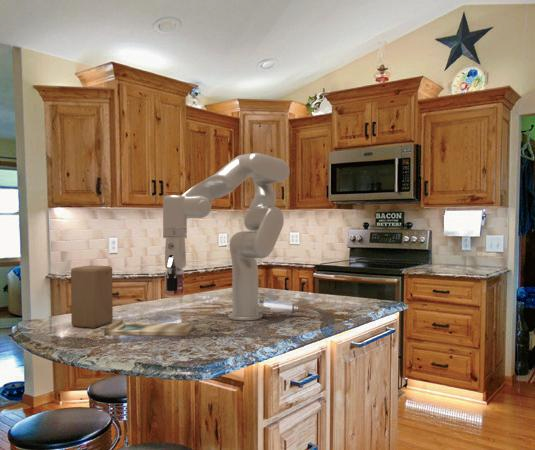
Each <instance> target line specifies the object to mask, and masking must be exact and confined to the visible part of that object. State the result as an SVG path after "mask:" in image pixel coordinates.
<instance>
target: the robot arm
mask: <svg viewBox="0 0 535 450" xmlns="http://www.w3.org/2000/svg"><path fill="white" fill-rule="evenodd" d="M290 172H291V169H290V166H289V164H288V162H287V161H285V160H284V159H282V158H278V157H276V156H275V157H274V156H272V155H271V156H270V155H268V154H263V153H259V152H252V153H246V154H240V155H237V156H236V157H234V158H233V159H232V160H230V161H229V162H228V163H227V164H225V165H224V166H223V167H222V168H220V169H219V170H218V171H217V172H215V173H214V174H213V175H211V176H208V177H207V178H206V179H204V180H202V181H200V182H198V183H197V184H195V185H193V186H192V187H191V188H189V189H188V190H187V191H185V192H184V193H183V194H180V195H179V194H177V195H176V194H169V195H165V196H164V197H163V201H162V214H163V215H162V239H165V245H164V246H165V247H164V248H165V249H164V266H165V269H166V270H168V271H167V291H177V287H178V278H176V277H177V268H178V269H182V270H183V269H184V268H186V266H187V257H186V256H187V255H186V254H187V253H186V252H187V251H186V240H185V239H187V238H188V237H187V236H188V235H187V232H188V230H187V229H188V228H187V227H188V226H187V225H188V224H187V223H188V221H187V220H188V219H203V218H205V217H207V216H208V215H209V214H210V213H211V212H212V203H211V201H213V200H216V199H219V198H222V197H225V196H227V195H229V194H231V193H232V192H233V191H234V190H236V188H238V187H239V186H240V185H241V184H242V183H244V182H245V181H246V180H247V179H249V178H251V180H252V183H253V186H254V189H255V192H254V193H255V194H254V197H253V199H252V201H251V203H250V206H249V207H248V209H247V211H246V214H245V216H244V220H243V224H244V227H245V228H246V230H245V231H239V232H238V231H237V232H236V233H234V234H232V236H231V238H230V240H229V247H228V248H229V252H230V259H231V266H232V268H231V269H232V270H231V271H232V273H231V274H232V275H231V276H232V282H231V283H232V287H231V288H232V291H231V292H232V312H230V313H228V315H227V317H228V319H230V320H233V321H240V322H241V321H243V322H244V321H255V320H260V319H262V318H263V313H264V314H271V307H267V306H264V307H263V306H260V305H261V304H260V303H259V267H258V263H257V260H256V259H266V258H268V257H269V256H270V255H271V254H272V253H273V249H274V248H275V246H276V244H277V241H278V239H279V237H280V234H281V231H282V229H283V226H284V214H283V211H282V210H281V209H280V208H279V207H277V206H275V205H276V202H277V194H276V191H275V188H274V185H273V184H278V183H283V182H285V181H287V179H289V176H290ZM247 230H249V231H247ZM167 264H168V265H167ZM172 267H175V268H172ZM174 271H175V272H174Z"/></svg>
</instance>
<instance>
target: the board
mask: <svg viewBox="0 0 535 450" xmlns="http://www.w3.org/2000/svg"><path fill="white" fill-rule="evenodd" d="M123 321H124V320H123V319H116V320H114V321H112V322H111V323H109V324H107V326H106V325H105V326H104V329H103V331H104V332H103V334H104V336H173V337H174V336H178V337H179V336H186V337H187V336H188V335H189V334H190V333H191V332H192V330H193V329H194V328H195V326H196V324H195V322H189V323H187V322H175V323H174V322H123Z"/></svg>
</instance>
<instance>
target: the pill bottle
mask: <svg viewBox="0 0 535 450" xmlns="http://www.w3.org/2000/svg"><path fill="white" fill-rule="evenodd" d="M167 265H168V264H167ZM172 268H175V267H172ZM167 271H168V270H167V269H166V270H165V271H164V297H165V298H167V299H179V298H183V297H185V271H184V269H183V268H182V269H178V268H177V277H176V278H178V287H177V291H167ZM174 272H175V271H174Z"/></svg>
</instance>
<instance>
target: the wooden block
mask: <svg viewBox="0 0 535 450" xmlns="http://www.w3.org/2000/svg"><path fill="white" fill-rule="evenodd" d="M70 292H71V293H70V296H71V297H70V298H71V300H70V301H71V307H70V308H71V311H70V313H71V315H70V316H71V326H72V327H75V326H76V328H88V329H89V328H91V329H95V328H99V327H102V326H104V325H105V326H106V325H109V324H111V323H113V321H114V320H113V315H114V313H113V305H114V304H113V302H114V301H113V267H112V266H111V265H85V266H76V267H73V268H71V269H70Z"/></svg>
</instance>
